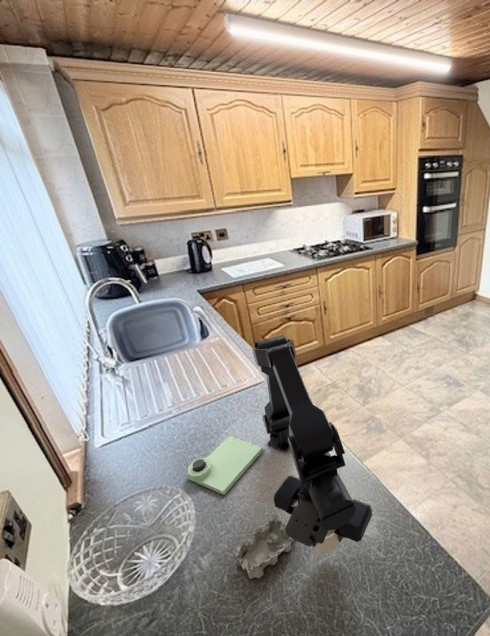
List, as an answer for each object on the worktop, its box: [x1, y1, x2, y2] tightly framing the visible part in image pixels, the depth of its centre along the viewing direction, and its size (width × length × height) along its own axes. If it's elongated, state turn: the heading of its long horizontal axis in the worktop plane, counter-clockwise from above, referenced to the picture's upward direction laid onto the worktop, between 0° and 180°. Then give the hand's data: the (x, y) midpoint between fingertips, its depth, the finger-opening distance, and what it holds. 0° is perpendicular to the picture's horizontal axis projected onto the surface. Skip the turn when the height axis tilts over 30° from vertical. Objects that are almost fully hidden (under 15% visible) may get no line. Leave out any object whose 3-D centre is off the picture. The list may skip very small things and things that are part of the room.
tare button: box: [193, 458, 205, 472], centre depth 90 cm, size 3×3×2 cm
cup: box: [311, 530, 342, 554], centre depth 69 cm, size 7×7×5 cm
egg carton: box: [234, 514, 293, 580], centre depth 72 cm, size 11×8×4 cm
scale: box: [187, 435, 264, 496], centre depth 93 cm, size 15×13×3 cm
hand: (325, 533), depth 70 cm, fingers closed on cup, 7 cm apart
